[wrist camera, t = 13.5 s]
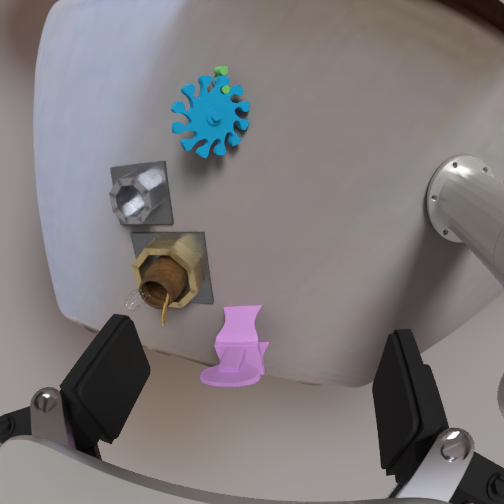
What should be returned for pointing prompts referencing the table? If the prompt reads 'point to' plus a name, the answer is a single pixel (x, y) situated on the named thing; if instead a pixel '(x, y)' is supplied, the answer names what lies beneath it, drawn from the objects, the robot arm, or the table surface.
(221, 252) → the table surface
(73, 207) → the table surface
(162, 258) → the utensil holder
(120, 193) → the narrow socket
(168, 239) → the wide socket
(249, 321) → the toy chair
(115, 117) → the table surface
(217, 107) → the gear
